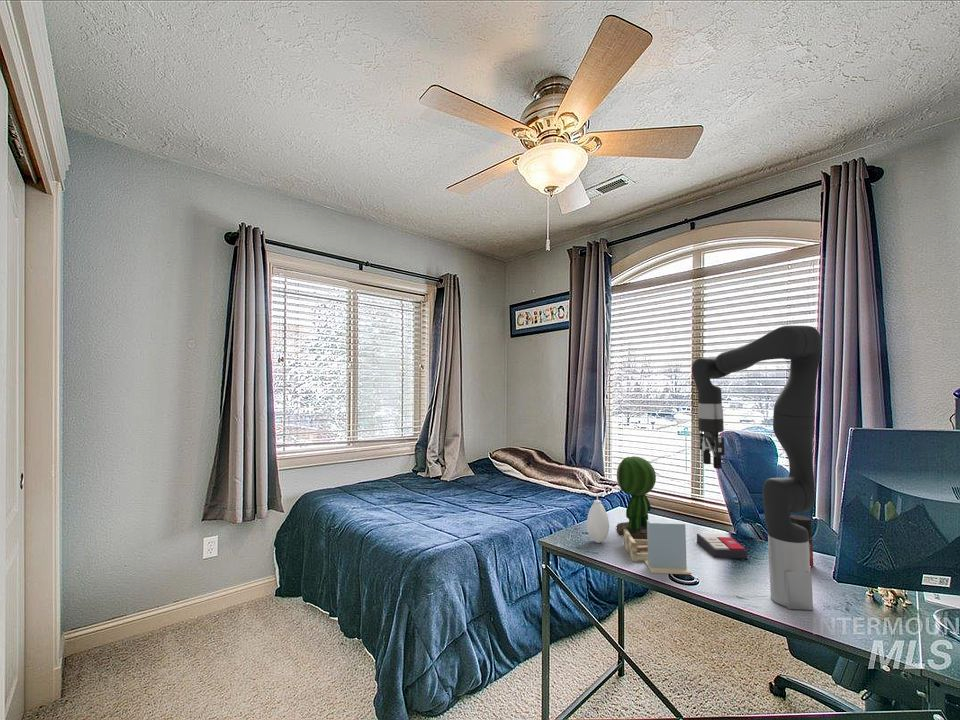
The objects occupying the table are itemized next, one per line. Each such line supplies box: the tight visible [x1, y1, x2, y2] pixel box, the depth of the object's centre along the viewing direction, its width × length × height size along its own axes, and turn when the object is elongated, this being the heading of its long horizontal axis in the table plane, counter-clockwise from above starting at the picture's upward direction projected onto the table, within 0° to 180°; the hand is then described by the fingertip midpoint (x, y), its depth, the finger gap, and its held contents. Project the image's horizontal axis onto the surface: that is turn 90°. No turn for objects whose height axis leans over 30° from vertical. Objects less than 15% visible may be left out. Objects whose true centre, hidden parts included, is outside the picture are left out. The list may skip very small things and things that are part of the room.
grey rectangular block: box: [647, 519, 688, 569], centre depth 144 cm, size 4×11×14 cm, turn 84°
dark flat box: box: [696, 532, 748, 559], centre depth 159 cm, size 11×4×15 cm
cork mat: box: [643, 560, 692, 575], centre depth 144 cm, size 9×12×1 cm
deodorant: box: [790, 514, 814, 567], centre depth 147 cm, size 6×6×15 cm
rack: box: [623, 529, 648, 563], centre depth 156 cm, size 15×16×6 cm
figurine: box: [615, 456, 657, 539], centre depth 179 cm, size 17×20×30 cm
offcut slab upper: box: [636, 545, 648, 553], centre depth 155 cm, size 3×9×2 cm
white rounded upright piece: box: [586, 493, 610, 544], centre depth 168 cm, size 8×8×18 cm
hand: (712, 466), depth 148 cm, fingers open, 8 cm apart
